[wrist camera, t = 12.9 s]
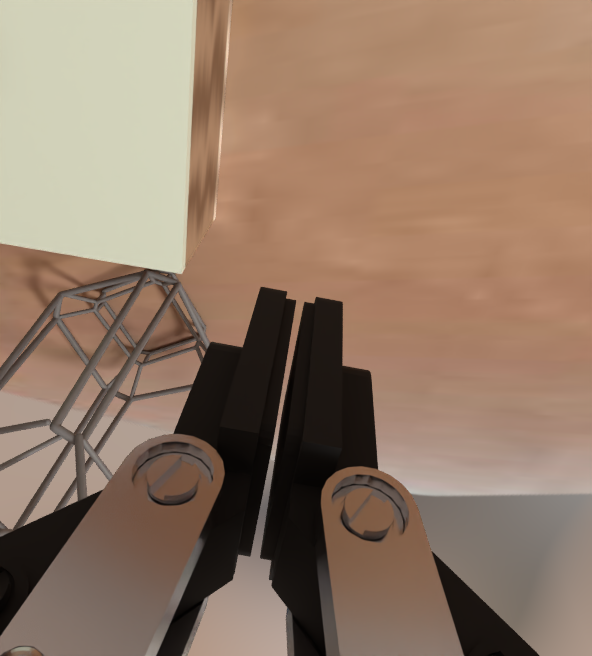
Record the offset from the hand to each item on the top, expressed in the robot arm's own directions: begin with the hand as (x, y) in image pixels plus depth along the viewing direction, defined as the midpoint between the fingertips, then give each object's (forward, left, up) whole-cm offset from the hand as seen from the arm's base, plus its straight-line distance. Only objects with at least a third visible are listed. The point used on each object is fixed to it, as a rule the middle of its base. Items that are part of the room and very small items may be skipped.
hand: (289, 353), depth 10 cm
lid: (0, -16, -23) cm, 28 cm away
